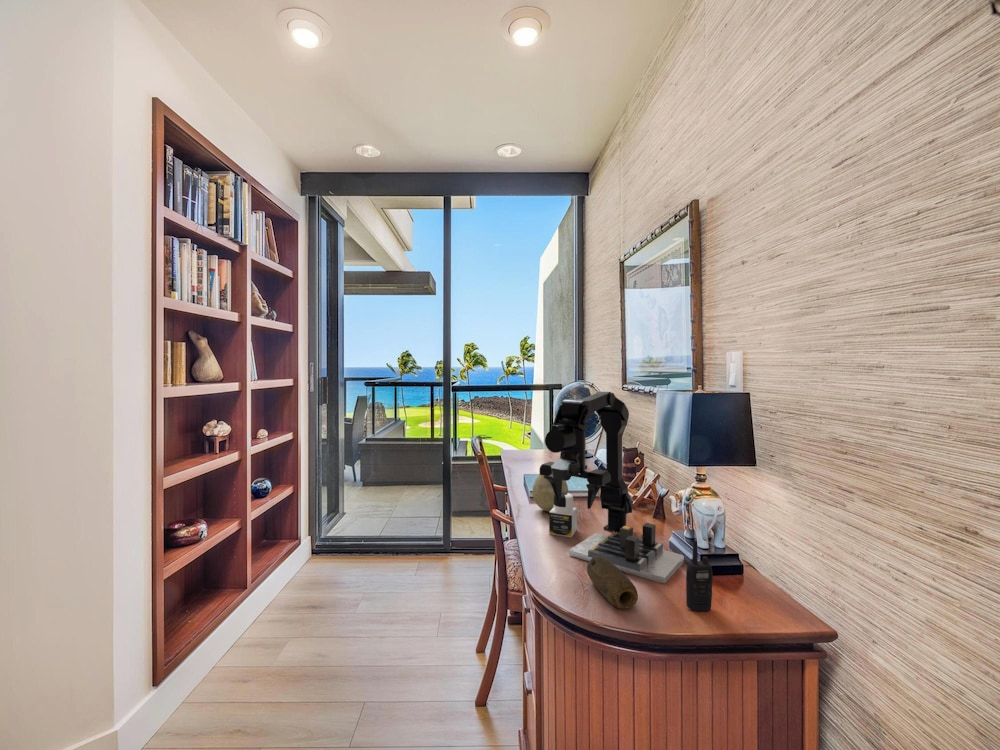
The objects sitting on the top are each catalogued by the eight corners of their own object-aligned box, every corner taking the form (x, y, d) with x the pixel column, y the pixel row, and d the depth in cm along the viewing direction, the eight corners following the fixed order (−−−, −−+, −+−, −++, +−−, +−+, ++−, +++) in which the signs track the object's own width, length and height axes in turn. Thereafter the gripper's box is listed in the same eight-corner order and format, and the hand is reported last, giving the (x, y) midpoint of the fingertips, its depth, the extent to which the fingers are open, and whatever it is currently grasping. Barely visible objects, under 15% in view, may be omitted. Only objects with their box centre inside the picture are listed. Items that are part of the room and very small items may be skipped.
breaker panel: (596, 537, 139) (596, 510, 139) (685, 560, 123) (685, 530, 123) (568, 556, 126) (568, 526, 125) (663, 584, 110) (664, 550, 109)
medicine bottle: (548, 534, 141) (549, 495, 141) (555, 526, 148) (555, 489, 148) (571, 537, 139) (572, 498, 138) (577, 529, 145) (577, 492, 145)
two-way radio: (689, 612, 98) (690, 542, 97) (680, 601, 102) (681, 534, 102) (715, 612, 98) (716, 542, 97) (704, 601, 102) (705, 534, 102)
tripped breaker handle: (624, 543, 126) (624, 524, 126) (632, 545, 125) (633, 526, 125) (619, 547, 124) (619, 527, 124) (628, 549, 122) (628, 530, 122)
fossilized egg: (570, 516, 157) (570, 473, 157) (533, 516, 157) (533, 473, 157) (565, 505, 170) (566, 464, 170) (531, 505, 170) (531, 464, 170)
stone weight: (581, 582, 111) (581, 555, 111) (606, 578, 113) (606, 551, 113) (614, 615, 97) (615, 584, 96) (643, 610, 99) (643, 579, 99)
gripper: (528, 447, 122) (527, 505, 123) (592, 456, 111) (591, 520, 111) (550, 441, 131) (550, 495, 132) (611, 449, 120) (611, 509, 120)
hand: (573, 504), depth 123 cm, fingers open, 9 cm apart
